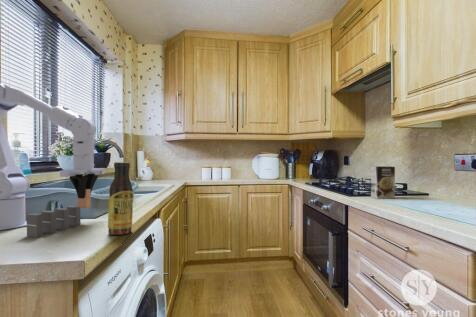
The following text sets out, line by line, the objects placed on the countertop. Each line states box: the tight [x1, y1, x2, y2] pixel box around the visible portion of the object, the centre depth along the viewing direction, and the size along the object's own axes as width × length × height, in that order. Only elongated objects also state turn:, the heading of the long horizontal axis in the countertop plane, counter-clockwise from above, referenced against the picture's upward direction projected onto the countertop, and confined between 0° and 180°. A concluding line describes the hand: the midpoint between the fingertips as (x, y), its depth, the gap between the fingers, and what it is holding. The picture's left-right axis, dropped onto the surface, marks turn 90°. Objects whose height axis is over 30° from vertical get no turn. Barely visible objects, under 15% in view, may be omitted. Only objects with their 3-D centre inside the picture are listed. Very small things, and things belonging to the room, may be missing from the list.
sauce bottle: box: [107, 161, 134, 236], centre depth 73 cm, size 7×6×20 cm
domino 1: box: [26, 213, 44, 239], centre depth 70 cm, size 1×4×6 cm, turn 71°
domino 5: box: [77, 189, 92, 209], centre depth 85 cm, size 1×4×6 cm, turn 70°
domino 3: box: [54, 207, 70, 231], centre depth 77 cm, size 1×4×6 cm, turn 71°
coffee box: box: [370, 165, 396, 200], centre depth 133 cm, size 9×6×16 cm
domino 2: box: [40, 210, 57, 235], centre depth 74 cm, size 1×4×6 cm, turn 71°
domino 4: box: [66, 205, 81, 227], centre depth 81 cm, size 1×4×6 cm, turn 71°
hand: (84, 197), depth 85 cm, fingers closed on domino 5, 1 cm apart
